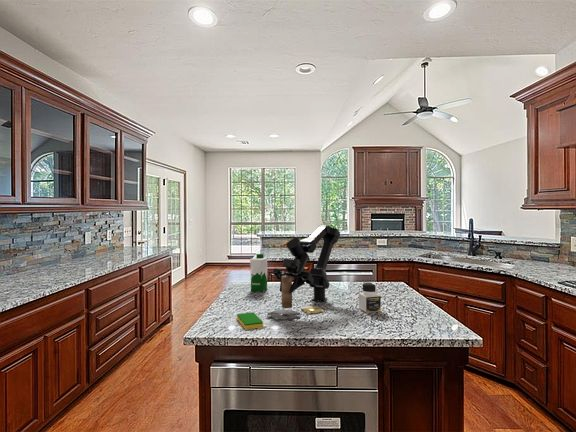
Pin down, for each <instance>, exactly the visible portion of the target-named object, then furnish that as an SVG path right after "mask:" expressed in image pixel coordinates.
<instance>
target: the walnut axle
mask: <svg viewBox="0 0 576 432" xmlns="http://www.w3.org/2000/svg"><path fill="white" fill-rule="evenodd" d="M292 284H293V278H292V276H282V292H281V308H283V309H291V308H293V292H292V293H291V294H290V293H289V291H290V288H291V286H292Z"/></svg>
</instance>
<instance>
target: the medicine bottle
mask: <svg viewBox="0 0 576 432" xmlns="http://www.w3.org/2000/svg"><path fill="white" fill-rule="evenodd" d="M377 287H378V286H377V283H375V282H369V281H367V282H364V283H362V292H358V309H359V310H361V311H362V312H365V313H366V314H367V313H368V314H369V313H377V312H381V311H382V310H381V309H382V306H381V305H382V303H381V299H382V296H381V294H378V293H377V292H378V291H377V289H378V288H377Z"/></svg>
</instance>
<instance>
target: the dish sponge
mask: <svg viewBox="0 0 576 432" xmlns="http://www.w3.org/2000/svg"><path fill="white" fill-rule="evenodd" d="M236 320H237V321H238V322H239V323H240V325H241V326H242V327H243V328H244V329H245V330H252V329H259V328H264V321H263V320H262V319H261V318H260V317H259V316H258V315H257V314H256V313H255V312H254V311H253V312H251V311H249V312H244V313H237V314H236Z"/></svg>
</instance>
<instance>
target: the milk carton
mask: <svg viewBox="0 0 576 432" xmlns="http://www.w3.org/2000/svg"><path fill="white" fill-rule="evenodd" d="M249 263H250V291H251V292H256V291H261V292H260V293H264V292H265V291H266V290H268V257H265V256H264V253H256V256H255V257H252V258H250V259H249ZM264 290H265V291H264Z"/></svg>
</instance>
